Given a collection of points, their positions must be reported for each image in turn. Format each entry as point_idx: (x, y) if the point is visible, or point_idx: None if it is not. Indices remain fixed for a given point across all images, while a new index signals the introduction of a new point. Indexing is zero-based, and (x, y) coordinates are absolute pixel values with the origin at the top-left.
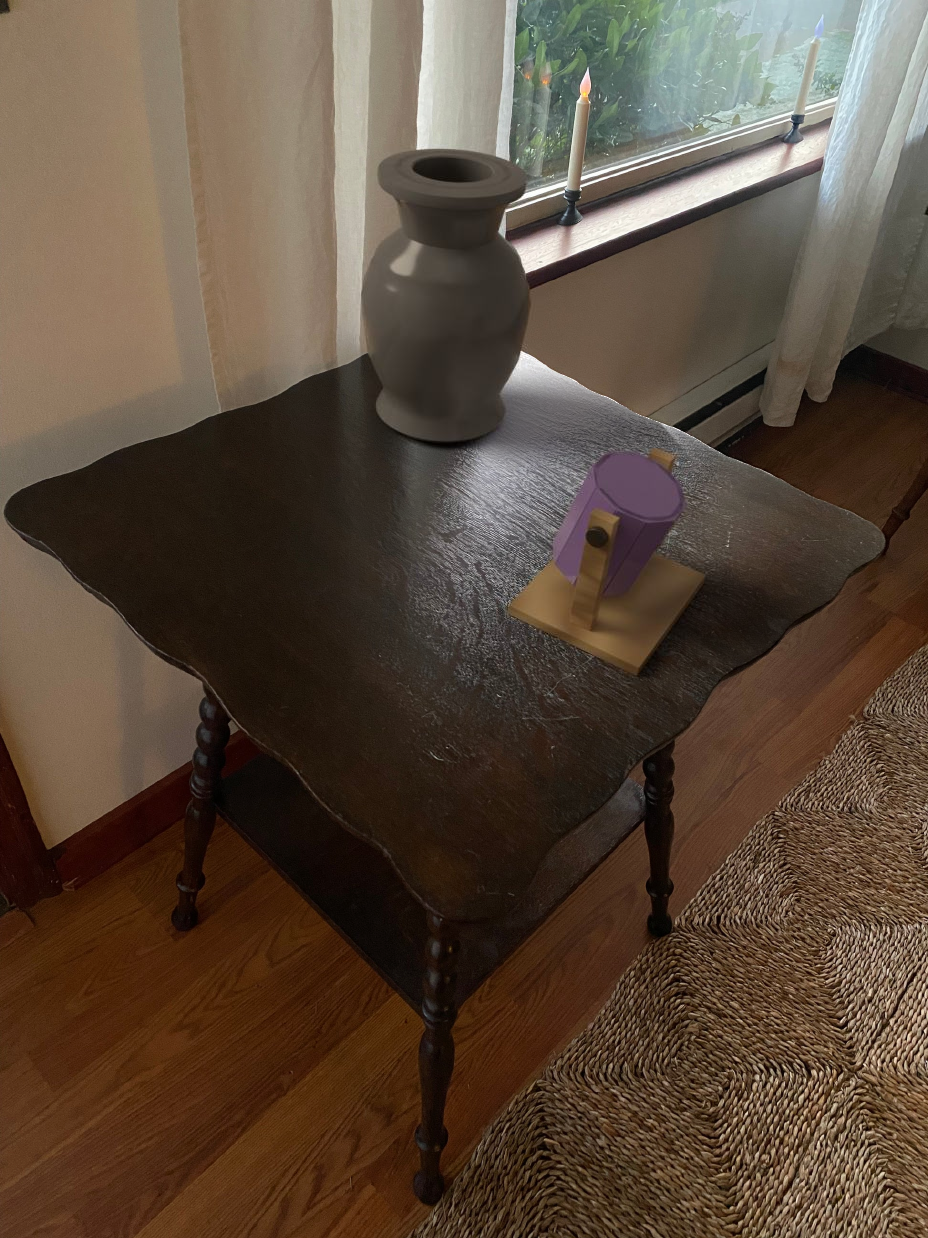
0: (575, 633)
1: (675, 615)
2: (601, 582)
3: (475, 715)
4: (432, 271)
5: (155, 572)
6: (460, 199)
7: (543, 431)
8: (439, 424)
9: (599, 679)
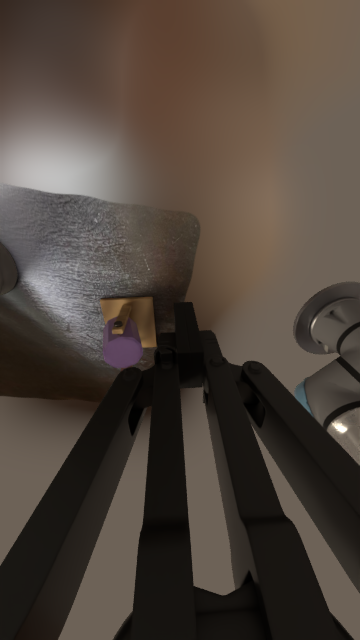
0: None
1: (153, 322)
2: None
3: None
4: None
5: (28, 387)
6: None
7: (28, 241)
8: (2, 290)
9: (149, 350)
